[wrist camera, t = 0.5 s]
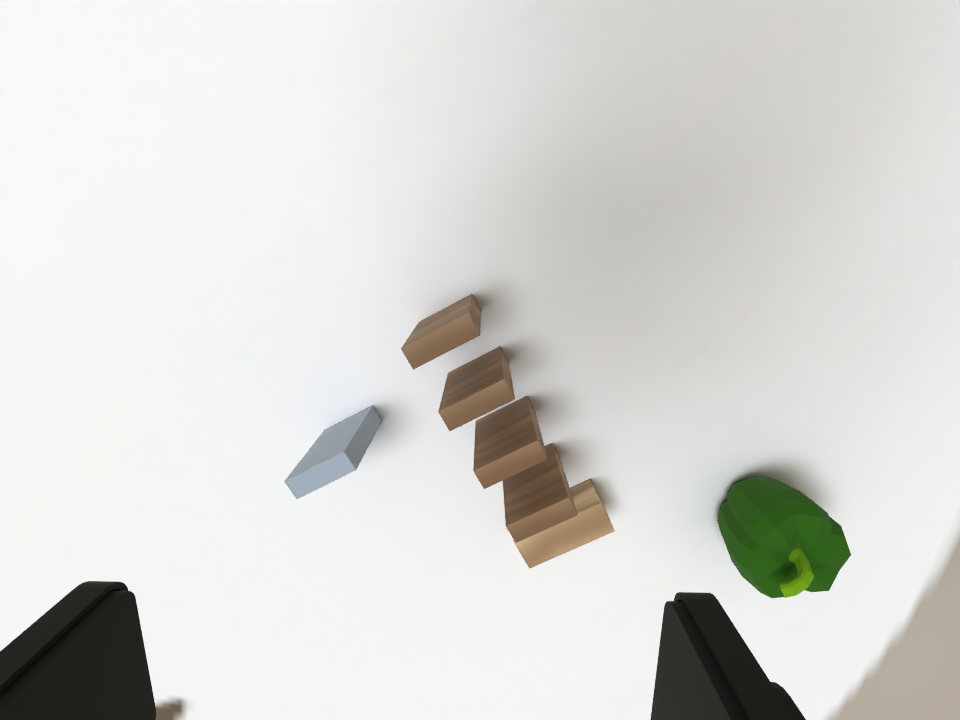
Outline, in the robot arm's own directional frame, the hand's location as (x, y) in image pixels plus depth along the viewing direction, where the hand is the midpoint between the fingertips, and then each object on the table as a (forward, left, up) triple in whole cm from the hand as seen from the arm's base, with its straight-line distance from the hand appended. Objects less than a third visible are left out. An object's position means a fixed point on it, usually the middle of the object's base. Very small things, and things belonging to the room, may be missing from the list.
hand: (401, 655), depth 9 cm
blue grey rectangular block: (0, -14, -33) cm, 36 cm away
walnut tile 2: (+4, -2, -33) cm, 33 cm away
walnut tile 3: (+9, -4, -33) cm, 34 cm away
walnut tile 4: (+14, -5, -33) cm, 36 cm away
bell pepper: (+30, +7, -33) cm, 45 cm away
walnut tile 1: (-1, -1, -33) cm, 33 cm away
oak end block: (+19, -6, -33) cm, 39 cm away
